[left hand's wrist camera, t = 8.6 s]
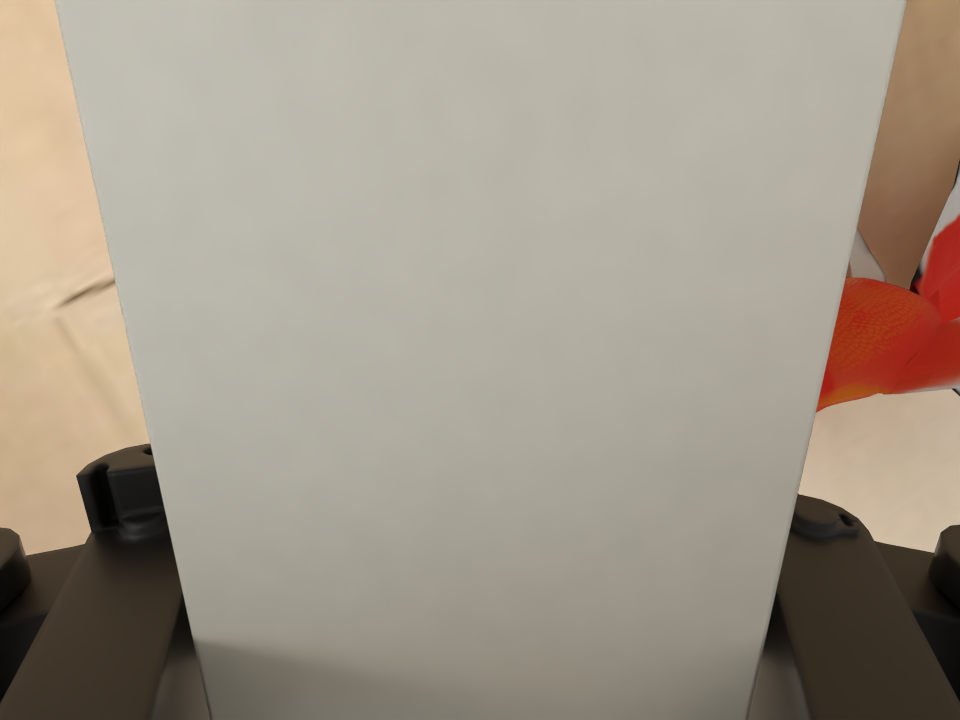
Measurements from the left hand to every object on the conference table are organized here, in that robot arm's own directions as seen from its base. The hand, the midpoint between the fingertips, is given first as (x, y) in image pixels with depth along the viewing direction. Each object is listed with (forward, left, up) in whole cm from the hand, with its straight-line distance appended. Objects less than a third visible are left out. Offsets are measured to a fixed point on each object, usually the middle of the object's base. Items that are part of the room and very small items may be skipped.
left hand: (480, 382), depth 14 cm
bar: (+8, +2, -1) cm, 9 cm away
